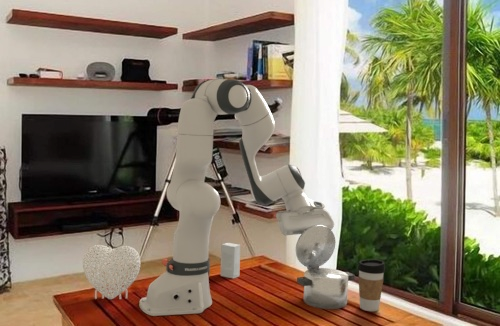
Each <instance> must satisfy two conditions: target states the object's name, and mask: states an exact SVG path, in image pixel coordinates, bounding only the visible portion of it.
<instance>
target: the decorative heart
mask: <svg viewBox="0 0 500 326" xmlns="http://www.w3.org/2000/svg"><path fill="white" fill-rule="evenodd" d="M117 261H119V262H117ZM141 262H142V261H141V256H140V254H139V252H138V251H137V250H136V249H135V248H134V247H132V246H129V245H121V246H118V247H115V248H112V247H108V246H107V245H102V244H95V245H93V246H90V247H89V248H87V250H86V251H84V254H83V258H82V269H83V272H84V273H83V274H84V275H85V277H86V279H87V281H88V282H89V284H90V285H91V287H93V288H94V289H95V290H94V299H95V300H96V299H97V298H98V293H100V294H101V299H103V300H104V299H105V298H107V300H113V299H115V298H116V297H117V296H119V300H122V293H124V292H125V299H128V288H130V287H131V285H132V284H133V283H134V282H135V280H136V279H137V277H138V275H139V273H140V270H141V269H140V268H141V265H142V264H141ZM121 264H122V265H121ZM107 284H108V285H107Z"/></svg>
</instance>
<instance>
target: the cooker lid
mask: <svg viewBox="0 0 500 326" xmlns="http://www.w3.org/2000/svg"><path fill="white" fill-rule="evenodd" d="M299 235H300V236H298V239H297V241H296V245H295V257H296V258H297V261H298V262H299V263H300V264H301V265H303V267H306V269H307V270H309V269H314V268H320V267H321V266H323V265H325V264H326V263H327V262H328V261H329V260H330V259H331V257H332V256H333V254H334V252H335V249H336V237H335V234H334V232H333V231H332V230H330V229H329V228H328V227H326V226H324V225H314V226H311V227H309V228H307V229H306V230H305V231H304V232H303V233H302V234H299Z"/></svg>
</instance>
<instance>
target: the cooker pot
mask: <svg viewBox="0 0 500 326" xmlns="http://www.w3.org/2000/svg"><path fill="white" fill-rule="evenodd" d="M355 278H356V276H355V274H354V273H351V272H349V271H342V270H339V269H335V268H326V267H319V268H314V269H309V270H308V269H307V270H305V271H304V276H298V277H296V283H297V284H299V285H301V286H303V287H304V288H303V302H304V303H305V304H306V305H309V306H310V307H313V308H318V309H322V310H323V309H324V310H336V309H342V308H345V307H346V306H348V305H347V304H348V290H349V287H348V286H349V281H355Z"/></svg>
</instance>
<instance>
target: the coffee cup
mask: <svg viewBox="0 0 500 326" xmlns="http://www.w3.org/2000/svg"><path fill="white" fill-rule="evenodd" d="M385 263H386V262H385V261H383V260H381V259H361V260H360V261H359V262H358V265H357V270H358V289H359V290H358V291H359V293H358V295H359V296H358V297H359V308H360V309H361V310H363V311H367V312H378V311H379V310H380V303H381V297H382V290H383V285H384V284H383V283H384V273H385V272H386V266H385Z"/></svg>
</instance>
